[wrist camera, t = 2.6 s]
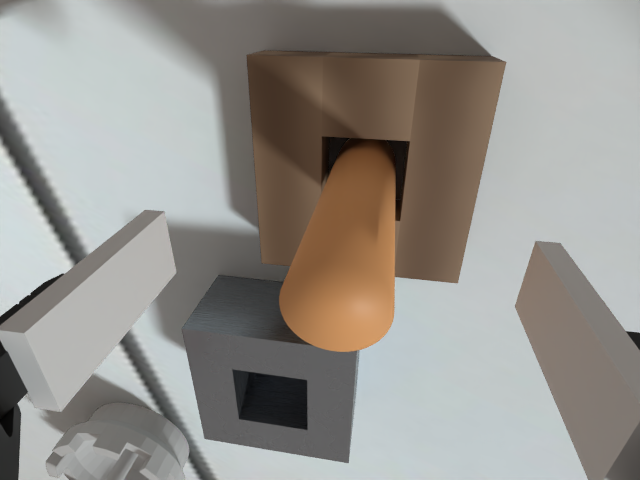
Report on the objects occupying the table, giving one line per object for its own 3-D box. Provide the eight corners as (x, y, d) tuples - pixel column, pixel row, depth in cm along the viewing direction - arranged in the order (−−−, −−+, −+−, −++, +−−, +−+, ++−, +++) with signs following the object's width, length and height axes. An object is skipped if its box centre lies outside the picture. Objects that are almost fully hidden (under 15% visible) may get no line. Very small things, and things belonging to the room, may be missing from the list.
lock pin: (398, 135, 23) (400, 265, 11) (392, 191, 25) (388, 358, 13) (338, 132, 24) (276, 253, 11) (336, 187, 25) (281, 344, 13)
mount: (492, 56, 20) (506, 62, 18) (451, 256, 26) (457, 283, 24) (264, 50, 22) (246, 54, 19) (274, 240, 28) (261, 263, 25)
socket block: (364, 291, 29) (357, 351, 24) (355, 395, 34) (348, 463, 29) (218, 275, 30) (181, 328, 25) (232, 377, 36) (204, 438, 30)
